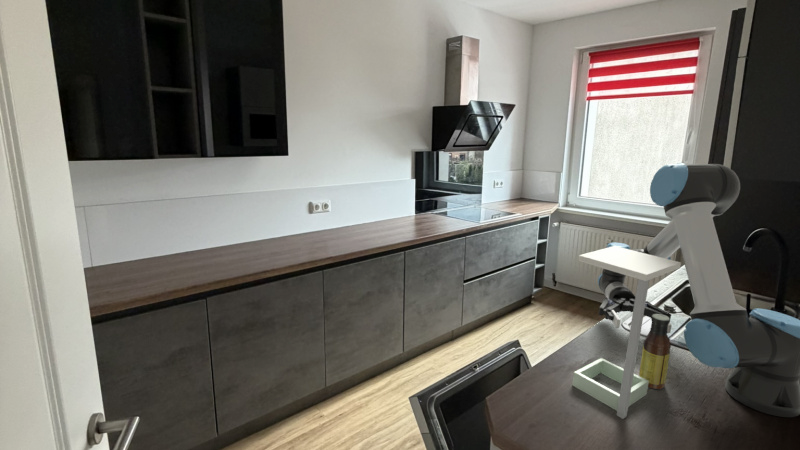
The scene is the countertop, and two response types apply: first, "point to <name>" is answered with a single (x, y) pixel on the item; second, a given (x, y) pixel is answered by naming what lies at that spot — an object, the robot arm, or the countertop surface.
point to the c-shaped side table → (643, 270)
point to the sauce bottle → (656, 353)
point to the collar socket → (603, 393)
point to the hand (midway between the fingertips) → (643, 326)
